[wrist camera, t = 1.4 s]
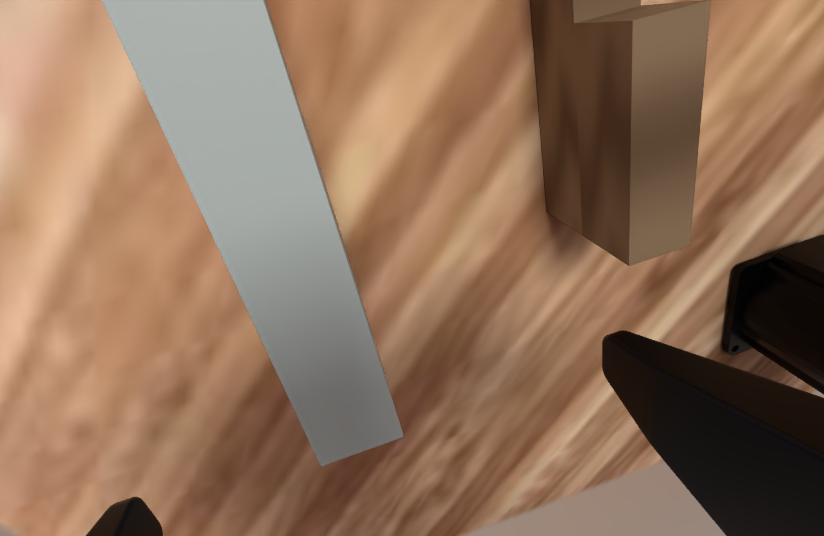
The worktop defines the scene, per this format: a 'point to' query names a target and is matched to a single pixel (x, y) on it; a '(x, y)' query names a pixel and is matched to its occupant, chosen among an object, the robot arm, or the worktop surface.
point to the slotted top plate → (264, 206)
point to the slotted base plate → (621, 118)
